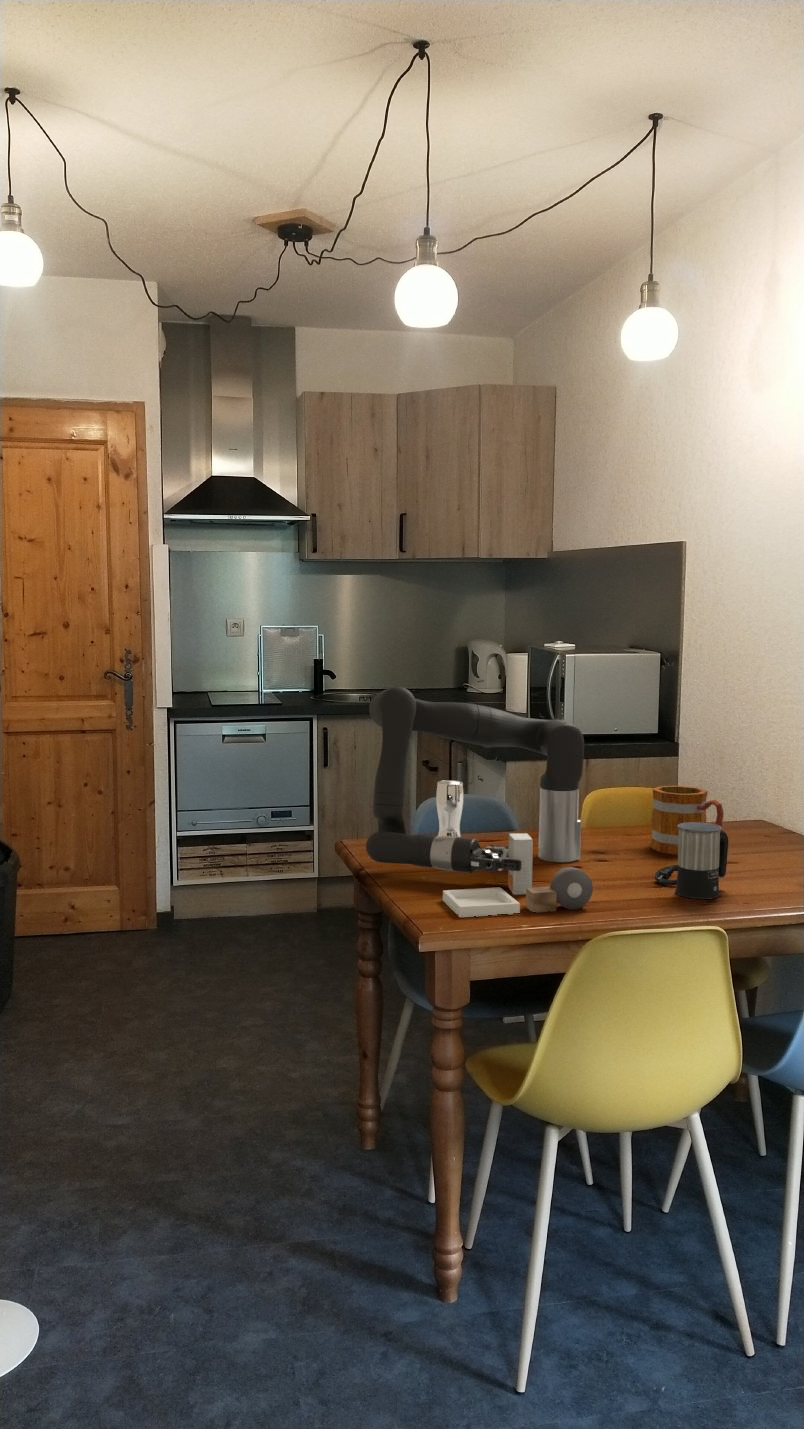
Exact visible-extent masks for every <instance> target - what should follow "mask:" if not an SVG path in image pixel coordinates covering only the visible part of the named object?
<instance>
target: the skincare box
mask: <svg viewBox="0 0 804 1429" xmlns="http://www.w3.org/2000/svg"><path fill="white" fill-rule="evenodd" d="M533 841H534V840H533V838H532V837H531V835H529V834H528V833H526V832H525V833H508V846H509V852H508V855H509V859H514V860H520V861H521V870H520V871H513V870H507V871H508V874H507V876H508V877H507V881H508V882H507V887H508V888H509V890H510V892H511V893H512V895H515V896H517V895H526V888H533V860H532V855H533V854H534V852H533V847H534V846H533V845H534V843H533ZM533 856H534V855H533Z"/></svg>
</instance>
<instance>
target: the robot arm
mask: <svg viewBox="0 0 804 1429" xmlns="http://www.w3.org/2000/svg"><path fill="white" fill-rule="evenodd" d="M368 707H369V710H368V711H369V714H370V718H371V719H372V721H373V722H374V723H375V724H376V725H377V726H379V727H380V728H381V729H382V730H381V731H382V732H381V733H382V734H381V735H382V739H381V740H382V741H381V749H380V750H381V751H380V756H379V760H378V765H377V768H376V774H375V776H374V777H375V778H374V783H373V785H374V787H373V797H372V798H373V799H372V800H373V801H372V814H373V816H374V818H375V819H376V820H377V830H378V831H375V832H374V833H372V834H371V835H370V836H369V837H368V838H367V840H366V842H365V850H366V851H365V852H366V853H367V855H368V856H369V857H370V859H371V860H373V861H374V862H377V863H383V864H398V865H399V864H400V865H401V864H402V865H405V864H406V865H413V866H418V867H423V868H424V867H425V868H432V869H433V868H434V869H439V870H442V871H450V872H458V873H466V874H467V873H468V874H474V873H475V872H476V871H483V872H491V873H497V872H498V871H500V872H501V871H503V870H505V871H508V870H513V871H520V870H521V861H520V860H514V859H509V854H507V853H509V845H499V844H498V845H497V844H496V845H495V844H489V845H488V846H485V848H482V847H481V846H480V841H479V840H478V839H477V838H472V837H462V836H461V837H453V836H438V835H429V834H407V831H406V822H405V816H404V811H405V792H406V791H405V790H406V774H407V773H406V772H407V763H408V754H409V747H410V741H411V736H412V732H420V733H427V734H430V735H434V736H438V737H441V738H445V739H448V740H449V739H450V740H454V741H458V742H463V743H467V744H471V745H472V744H473V745H477V746H485V747H493V748H494V747H498V748H499V747H502V748H503V747H511V748H513V747H514V748H521V749H525V750H529V751H532V752H535V753H539V754H542V755H544V756H546V766H545V767H546V768H545V772H544V773H543V774H542V775H541V776H540V779H539V780H540V781H539V784H540V785H539V817H538V818H539V819H538V821H539V823H538V825H539V826H538V859H540V860H542V861H546V862H553V863H569V862H575V861H580V860H581V845H582V844H581V841H582V840H581V839H582V838H581V837H582V821H581V820H580V819H579V799H580V798H579V793H580V792H579V791H580V781H581V779H582V777H583V770H584V769H583V768H584V758H585V757H584V755H585V753H584V752H585V739H584V734H583V732H582V730H581V729H580V728H579V727H578V726H576V725H575V724H573V723H570V722H566V721H563V720H558V719H543V718H542V719H539V718H532V717H531V718H530V717H523V716H518V715H516V714H513V713H510V712H508V711H505V710H502V709H498V708H495V707H494V708H493V707H491V706H485V705H480V704H476V703H468V702H454V701H453V702H452V701H451V702H450V701H448V702H447V701H446V702H445V701H443V702H441V701H439V702H438V701H437V702H436V701H434V702H433V701H428V700H422V699H420V698H419V699H418V698H415V696H414V695H413V693H412V692H411V691H410V690H409V689H407V688H405V687H402V686H392V687H389V688H387V689H383V690H382V691H380V692H378V693H377V694H376V695H375V696H374V697H373V698H372V700H371V701H370V704H369V706H368ZM533 856H534V855H532V861H533Z"/></svg>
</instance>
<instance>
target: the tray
mask: <svg viewBox="0 0 804 1429" xmlns="http://www.w3.org/2000/svg"><path fill="white" fill-rule="evenodd" d="M442 902H444V903H445V905H447V906H448V907H449V908H450V909H451V910H452V911H453V912H454V913H455V914H456V915H457V914H458V915H457V916H458V917H459V918H475V917H474V916H476V917H487V916H488V915H492V916H498V915H497V914H508V915H514V914H513V913H521V902H519V901H517V900H516V899H515V898H514V897H512V896H511V895H510V894H509V893H507V891H505V890H504V889H503V888H501V887H500V886H499V887H484V888H464V889H447V890H446V889H445V890H442Z"/></svg>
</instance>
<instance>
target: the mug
mask: <svg viewBox="0 0 804 1429" xmlns="http://www.w3.org/2000/svg"><path fill="white" fill-rule="evenodd" d="M652 798H653V801H652V802H653V804H652V813H651V828H652V829H651V843H650V848H651V850H652V849H653V850H654V851H656V852H659V853H663V854H671V855H677V856H678V840H679V828H678V825H679V824H681V823H686V822H703V823H707V809H709V808H710V807H711V806H712V805H713V806H715V808H716V819H715V824H716V825H719V826H721V828H722V829H721V830H723V821H724V809H723V804H722V803H721V802H719V801H717V800H716V799H713V800H708V801H707V798H708V790H706V789H702V788H701V787H695V786H686V785H685V786H684V785H659V786H657V787H654V788H652Z"/></svg>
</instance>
